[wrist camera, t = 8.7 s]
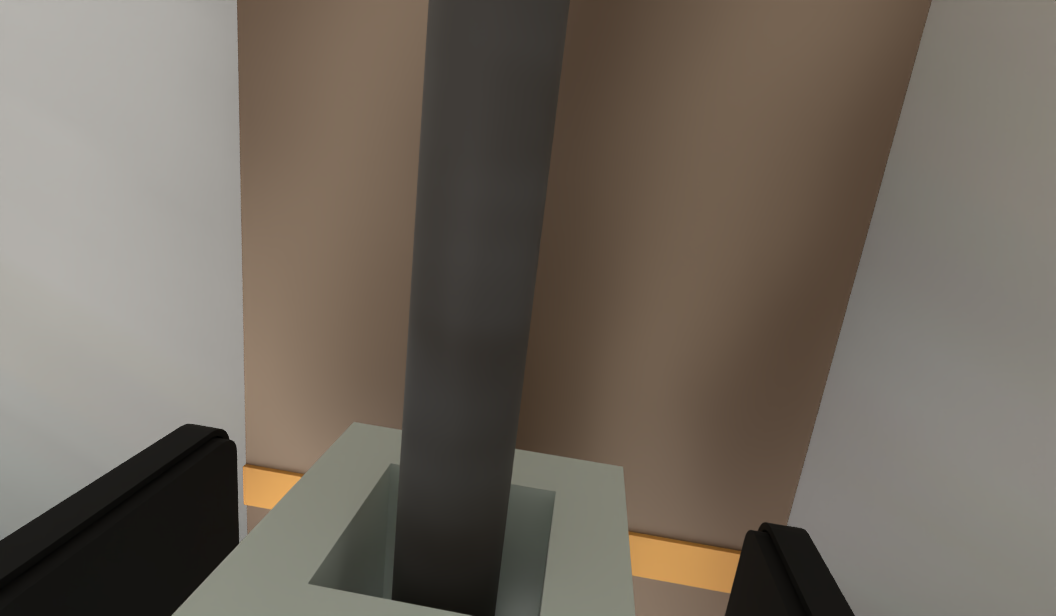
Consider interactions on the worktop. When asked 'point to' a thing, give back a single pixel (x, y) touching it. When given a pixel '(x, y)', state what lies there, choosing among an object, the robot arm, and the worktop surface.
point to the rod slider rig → (558, 257)
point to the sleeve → (369, 541)
